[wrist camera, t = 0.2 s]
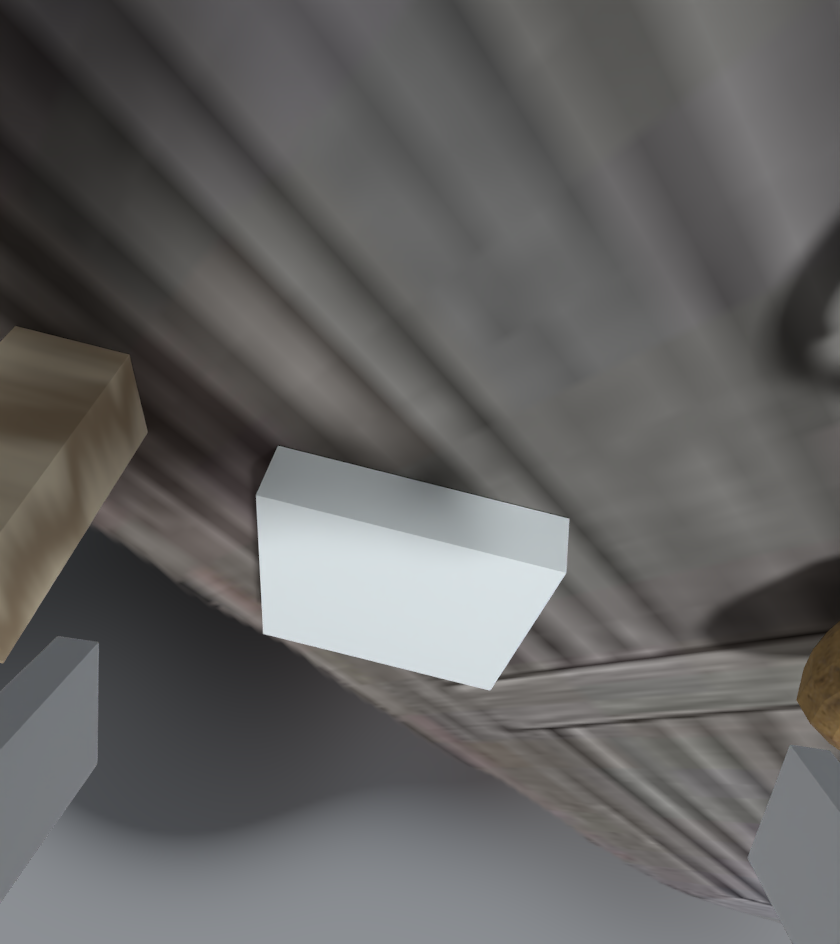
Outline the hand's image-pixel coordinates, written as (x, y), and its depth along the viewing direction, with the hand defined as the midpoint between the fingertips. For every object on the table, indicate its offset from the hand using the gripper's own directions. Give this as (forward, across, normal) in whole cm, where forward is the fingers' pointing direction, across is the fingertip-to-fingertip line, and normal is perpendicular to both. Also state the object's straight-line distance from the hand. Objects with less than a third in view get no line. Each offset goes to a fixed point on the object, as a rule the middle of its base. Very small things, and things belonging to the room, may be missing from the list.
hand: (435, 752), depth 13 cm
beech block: (+19, -16, +1) cm, 25 cm away
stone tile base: (+23, -1, -7) cm, 24 cm away
